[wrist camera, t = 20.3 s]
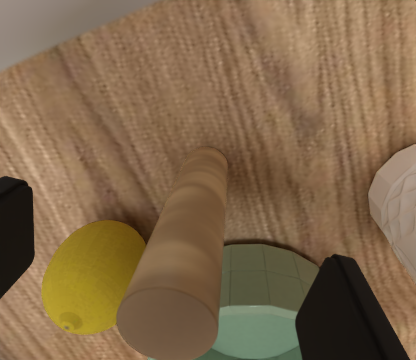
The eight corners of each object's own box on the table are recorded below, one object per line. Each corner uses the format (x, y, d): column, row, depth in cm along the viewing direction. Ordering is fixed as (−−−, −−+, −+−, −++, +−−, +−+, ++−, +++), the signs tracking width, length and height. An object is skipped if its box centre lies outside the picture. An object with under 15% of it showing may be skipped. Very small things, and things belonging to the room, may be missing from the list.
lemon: (70, 219, 21) (-15, 306, 14) (132, 186, 20) (73, 265, 13) (116, 274, 23) (61, 378, 16) (176, 247, 22) (146, 348, 14)
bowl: (154, 346, 26) (132, 425, 21) (183, 219, 21) (164, 280, 15) (301, 380, 26) (318, 468, 21) (367, 264, 21) (414, 340, 15)
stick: (180, 181, 20) (110, 350, 9) (189, 141, 18) (121, 276, 8) (222, 192, 20) (205, 372, 9) (233, 152, 19) (230, 302, 8)
